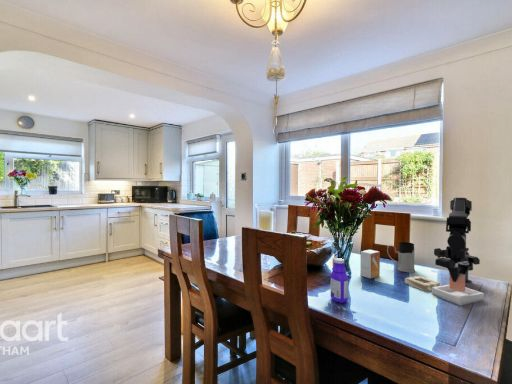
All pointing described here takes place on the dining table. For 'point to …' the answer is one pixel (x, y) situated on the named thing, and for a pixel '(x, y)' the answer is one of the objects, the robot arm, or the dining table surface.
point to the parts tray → (458, 295)
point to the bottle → (339, 281)
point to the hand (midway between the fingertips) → (457, 281)
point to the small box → (370, 263)
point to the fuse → (458, 283)
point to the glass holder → (405, 256)
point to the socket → (422, 283)
